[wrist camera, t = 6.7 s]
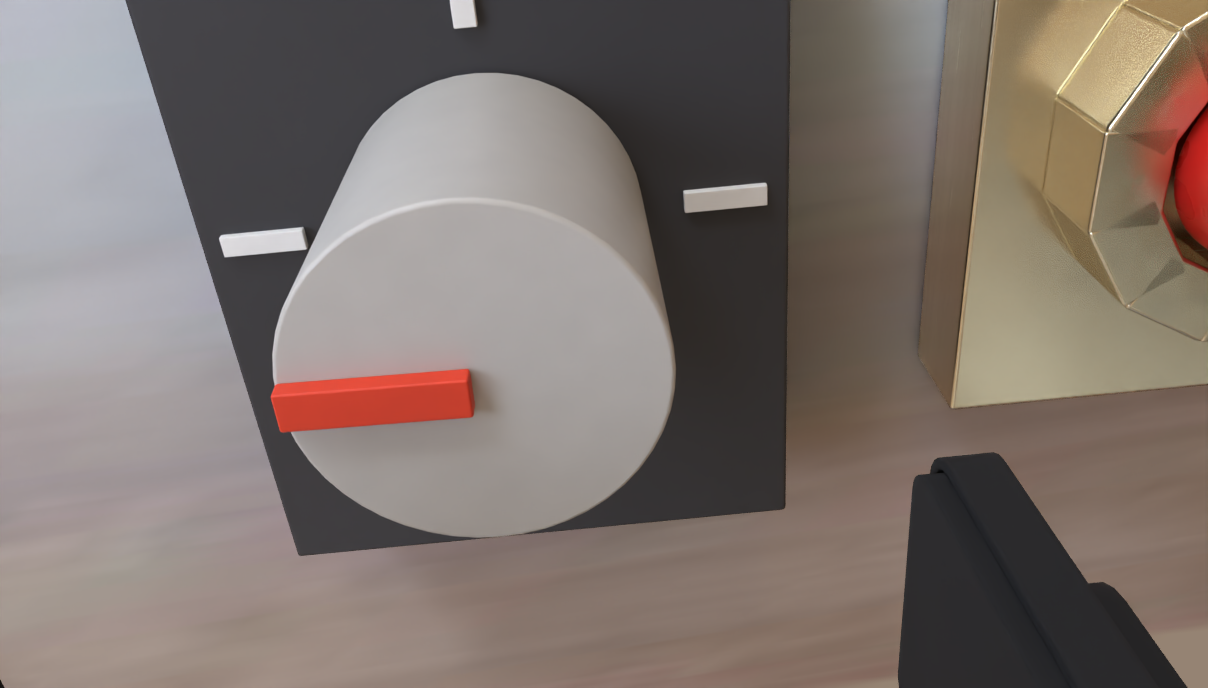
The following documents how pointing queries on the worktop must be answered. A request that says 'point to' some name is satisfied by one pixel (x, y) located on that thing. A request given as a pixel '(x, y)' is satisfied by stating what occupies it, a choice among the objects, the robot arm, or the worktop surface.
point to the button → (1194, 181)
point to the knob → (479, 315)
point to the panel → (581, 69)
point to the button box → (1065, 202)
